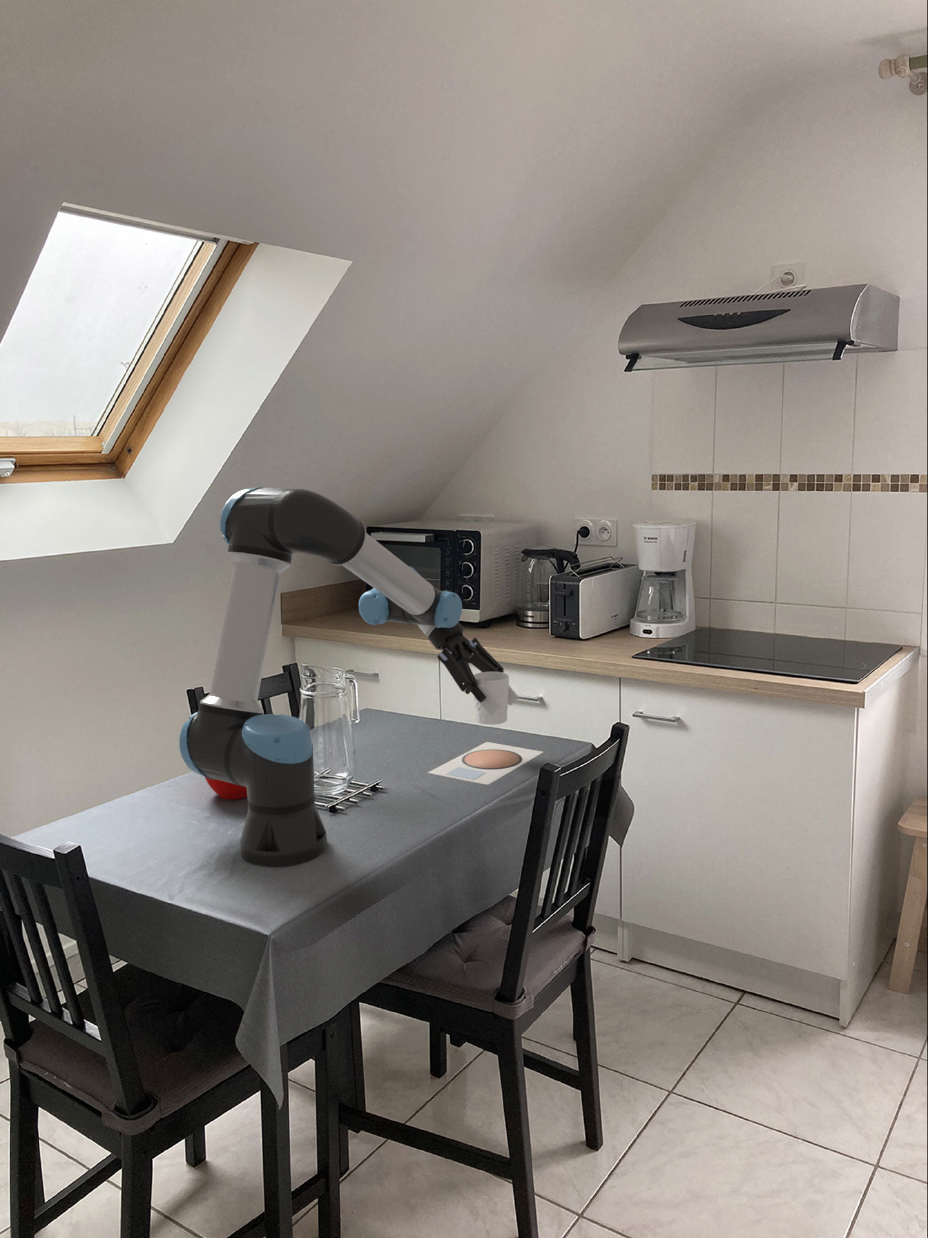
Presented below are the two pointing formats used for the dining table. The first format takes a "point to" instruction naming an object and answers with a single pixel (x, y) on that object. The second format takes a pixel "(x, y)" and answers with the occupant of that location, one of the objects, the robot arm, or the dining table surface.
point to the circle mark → (491, 759)
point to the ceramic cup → (227, 789)
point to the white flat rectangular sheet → (482, 776)
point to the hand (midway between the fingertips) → (505, 706)
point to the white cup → (499, 692)
